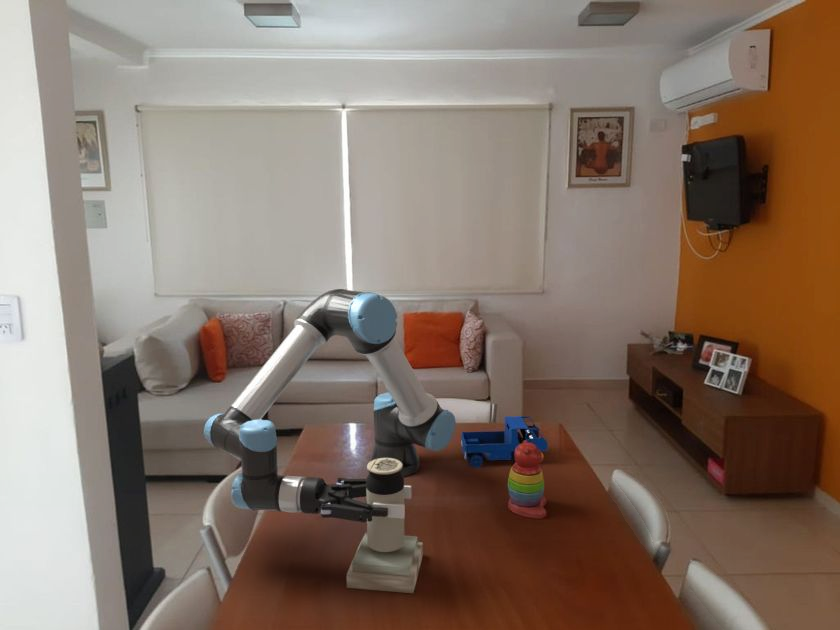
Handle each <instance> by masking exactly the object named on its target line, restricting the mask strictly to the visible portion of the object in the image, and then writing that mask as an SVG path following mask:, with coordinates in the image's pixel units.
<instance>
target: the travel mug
mask: <svg viewBox="0 0 840 630" xmlns="http://www.w3.org/2000/svg"><path fill="white" fill-rule="evenodd" d="M402 467H403V464H402V463H401V462H400V461H399V460H397V459H393V458H379V459H375V460H372V461H371V462H369V461H368V464H367V465H366V468H367V470H368V475H367V476H366V478H365V479H366V494H367V496H366V503H367V504H370V505H372V507H373V503H389V504H404V505H405V499H404V485H405V476H402V474H401V469H402ZM366 533H367V541H368V546H369V547H370V548H371V549H373V550H375V551H379V552H391V551H395V550H397V549H399V548H401V547H402V546H403V545H404V542H405V538H404V536H405V518H389V517H375V516H372V521H370V522H368V519H367V522H366Z"/></svg>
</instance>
